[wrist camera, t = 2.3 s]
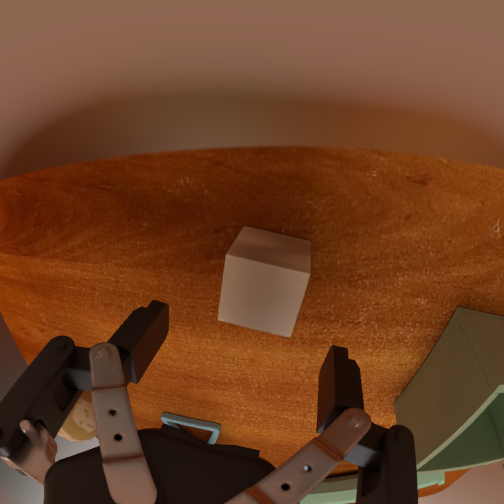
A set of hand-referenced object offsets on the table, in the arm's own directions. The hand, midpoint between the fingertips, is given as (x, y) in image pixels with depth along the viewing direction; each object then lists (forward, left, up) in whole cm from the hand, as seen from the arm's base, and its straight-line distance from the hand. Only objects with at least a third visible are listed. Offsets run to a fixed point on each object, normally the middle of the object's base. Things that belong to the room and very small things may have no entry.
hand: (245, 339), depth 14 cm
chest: (-6, +23, -8) cm, 25 cm away
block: (0, 0, -8) cm, 8 cm away
